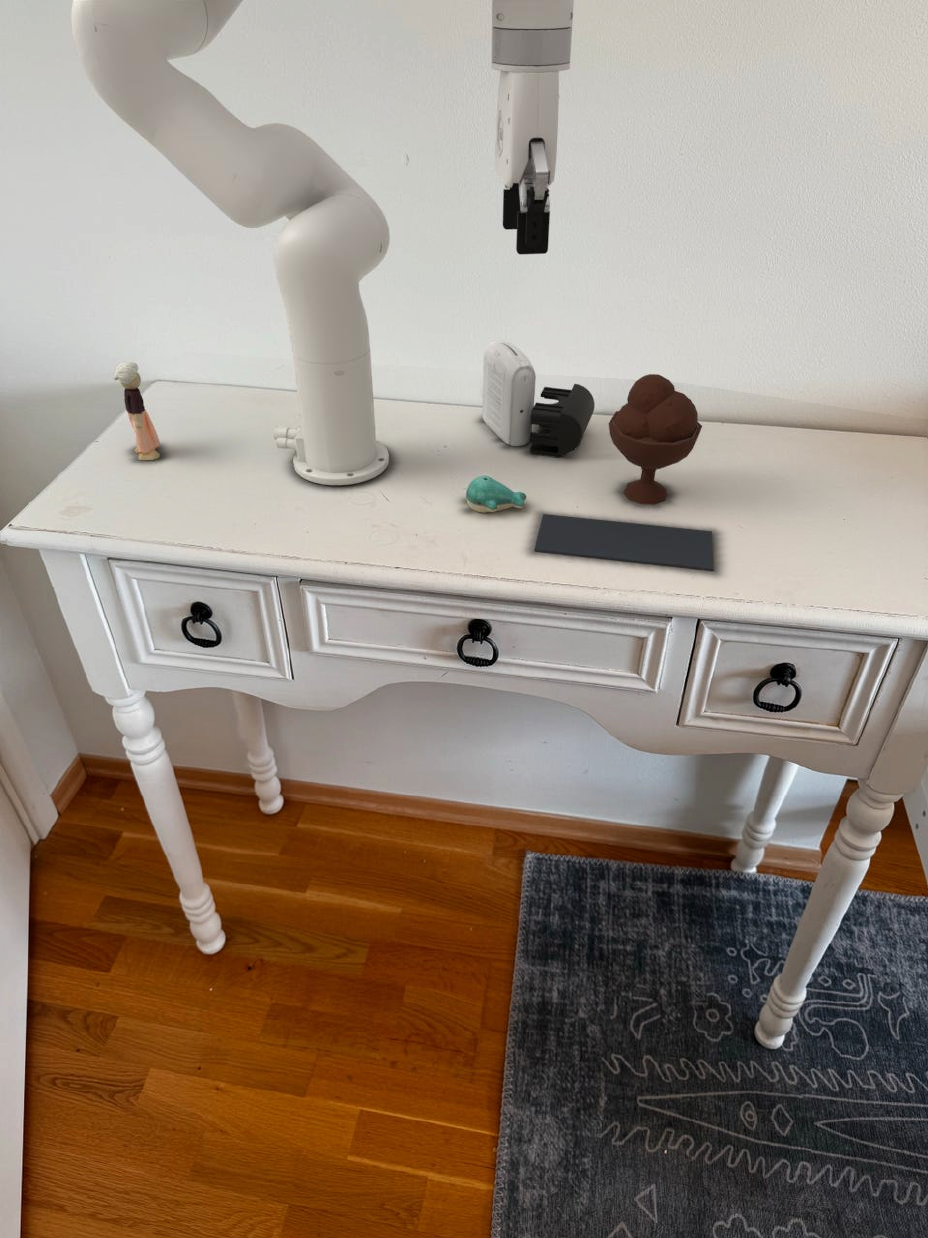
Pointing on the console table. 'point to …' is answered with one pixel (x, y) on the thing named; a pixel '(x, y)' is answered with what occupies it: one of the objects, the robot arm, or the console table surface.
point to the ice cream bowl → (654, 433)
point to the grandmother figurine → (137, 411)
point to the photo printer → (508, 392)
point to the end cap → (561, 421)
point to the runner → (626, 542)
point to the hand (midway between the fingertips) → (524, 240)
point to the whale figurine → (492, 495)
